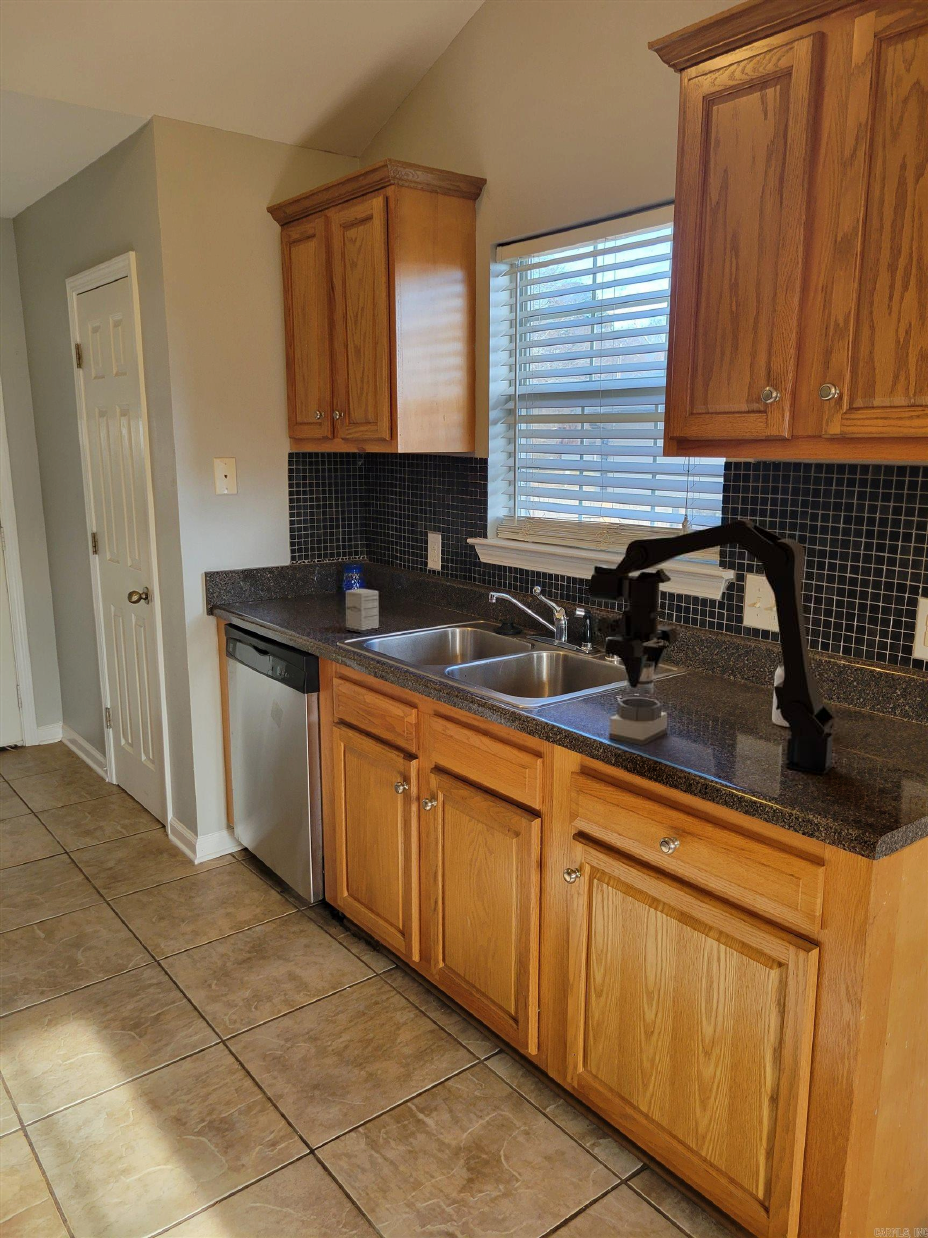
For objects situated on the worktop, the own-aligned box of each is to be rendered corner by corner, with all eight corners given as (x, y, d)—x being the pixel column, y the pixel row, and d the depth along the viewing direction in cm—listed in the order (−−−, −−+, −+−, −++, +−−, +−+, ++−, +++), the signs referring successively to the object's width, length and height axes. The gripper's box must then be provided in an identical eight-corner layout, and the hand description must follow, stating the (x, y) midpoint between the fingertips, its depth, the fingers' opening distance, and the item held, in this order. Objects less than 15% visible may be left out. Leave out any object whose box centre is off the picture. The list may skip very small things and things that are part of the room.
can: (778, 717, 190) (782, 660, 187) (810, 723, 186) (814, 665, 183) (766, 724, 185) (770, 666, 183) (798, 730, 181) (803, 671, 178)
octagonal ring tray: (668, 733, 178) (669, 700, 177) (643, 745, 171) (645, 712, 169) (632, 725, 183) (633, 694, 182) (607, 737, 175) (608, 704, 174)
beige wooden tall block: (345, 631, 279) (344, 590, 277) (363, 627, 285) (362, 587, 283) (361, 634, 275) (361, 593, 272) (379, 630, 280) (379, 590, 278)
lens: (658, 690, 176) (659, 659, 175) (645, 695, 172) (647, 664, 171) (634, 686, 179) (635, 656, 178) (621, 691, 175) (622, 660, 174)
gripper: (629, 594, 184) (626, 670, 187) (580, 606, 170) (578, 687, 173) (680, 600, 178) (676, 678, 180) (634, 612, 163) (631, 697, 166)
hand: (640, 684), depth 175 cm, fingers closed on lens, 5 cm apart
